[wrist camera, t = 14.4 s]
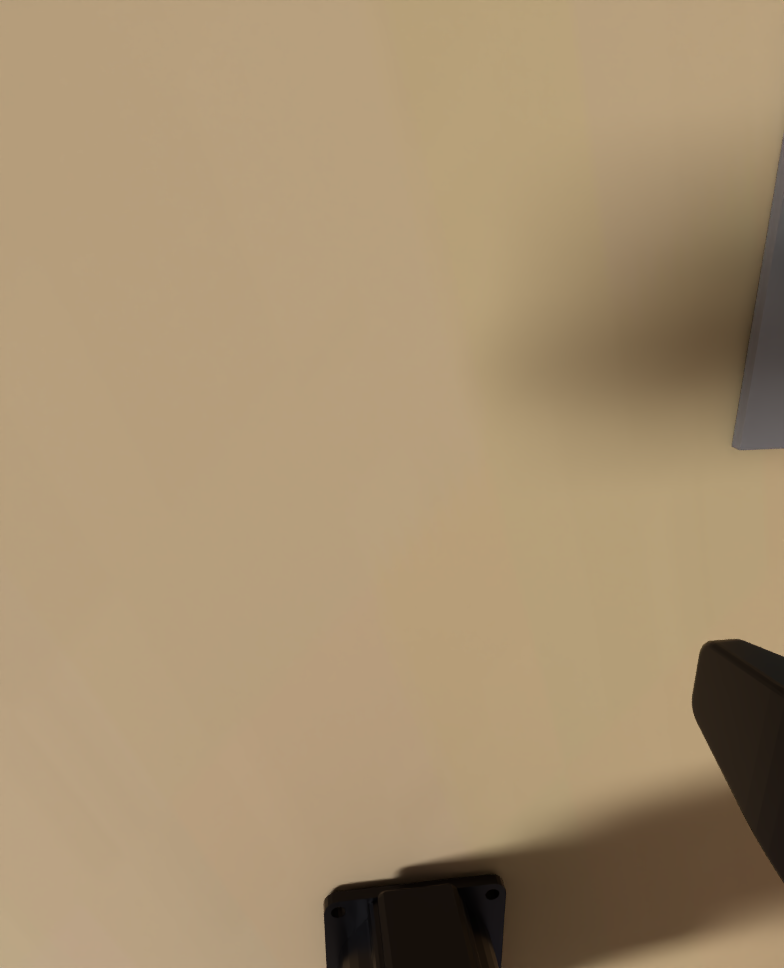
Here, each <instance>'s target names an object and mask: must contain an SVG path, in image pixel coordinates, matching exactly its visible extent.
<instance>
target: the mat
mask: <svg viewBox="0 0 784 968" xmlns="http://www.w3.org/2000/svg"><path fill="white" fill-rule="evenodd" d="M732 447H734V448H736V449H738V450H756V449H779V448H784V135H783V141H782V147H781V153H780V159H779V165H778V171H777V177H776V183H775V189H774V195H773V201H772V207H771V213H770V219H769V225H768V231H767V237H766V243H765V249H764V255H763V262H762V268H761V274H760V280H759V286H758V292H757V298H756V304H755V310H754V316H753V322H752V328H751V334H750V340H749V346H748V352H747V358H746V364H745V370H744V376H743V382H742V388H741V394H740V400H739V406H738V412H737V418H736V424H735V430H734V436H733V442H732Z"/></svg>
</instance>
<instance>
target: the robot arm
mask: <svg viewBox="0 0 784 968" xmlns="http://www.w3.org/2000/svg"><path fill="white" fill-rule="evenodd" d="M692 708H693V713H694V716H695V719H696V721H697V724H698V725H699V727H700V729H701V731H702V733H703V735H704V737H705V739H706V741H707V743H708V745H709V747H710V749H711V751H712V753H713V755H714V757H715V759H716V761H717V763H718V765H719V767H720V769H721V771H722V773H723V775H724V777H725V779H726V781H727V783H728V785H729V787H730V789H731V791H732V793H733V795H734V797H735V799H736V801H737V803H738V805H739V807H740V809H741V811H742V813H743V815H744V817H745V819H746V821H747V823H748V824H749V826H750V828H751V830H752V832H753V834H754V835H755V837H756V839H757V840H758V842H759V844H760V846H761V847H762V849H763V851H764V852H765V854H766V856H767V857H768V859H769V860H770V862H771V864H772V865H773V867H774V868H775V870H776V872H777V873H778V875H779V876H780V878H781V880H782V881H783V883H784V657H783V656H781V655H778V654H776V653H773V652H771V651H768V650H766V649H763V648H761V647H758V646H756V645H753V644H751V643H748V642H746V641H743V640H740V639H727V640H715V641H708V642H707V643H705V644H704V645H703V646H702V648H701V650H700V654H699V659H698V665H697V671H696V677H695V683H694V688H693V694H692ZM505 900H506V890H505V887H504V884H503V880H502V879H501V878H500V876H497V875H493V874H489V875H480V876H472V877H463V878H454V879H445V880H436V881H427V882H419V883H410V884H401V885H392V886H383V887H375V888H366V889H357V890H348V891H339V892H334V893H331V894H330V895H328V896H327V897H326V898H325V900H324V924H325V944H326V964H327V968H501V958H502V944H503V929H504V914H505ZM336 907H339V908H336Z"/></svg>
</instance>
